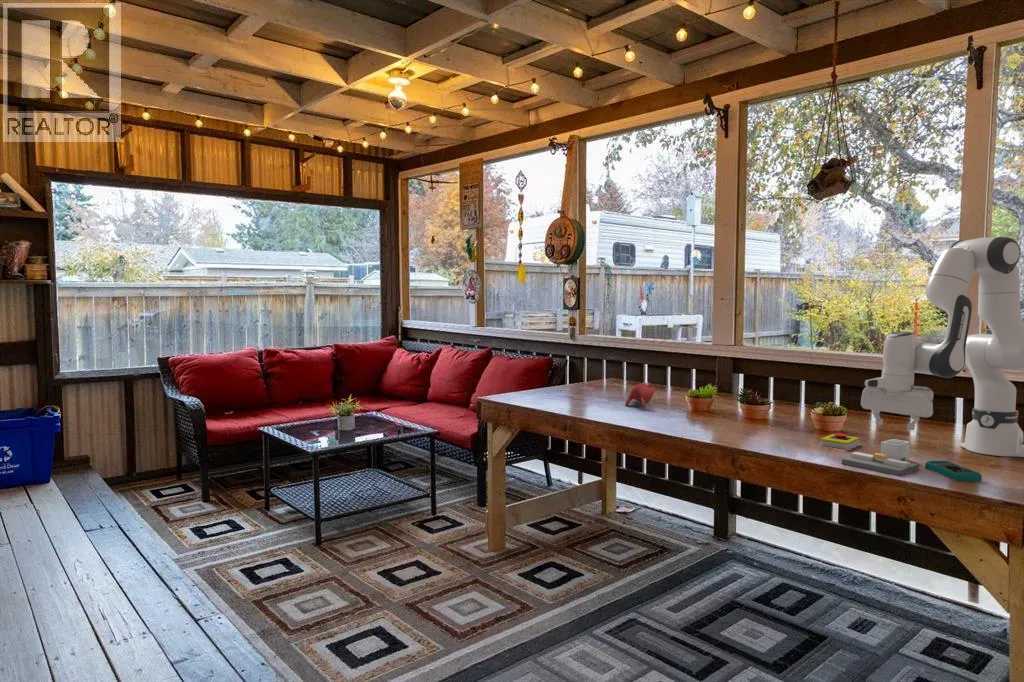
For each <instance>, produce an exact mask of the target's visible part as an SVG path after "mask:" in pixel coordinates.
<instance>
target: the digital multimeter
mask: <svg viewBox="0 0 1024 682" xmlns="http://www.w3.org/2000/svg"><path fill="white" fill-rule="evenodd" d="M924 468H925V469H926V470H928V469H929V470H928V471H932V472H933V471H934V472H933V473H936V472H937V474H938V473H939V475H941V474H942V475H941V476H943V475H944V477H946V476H947V477H946V478H948V477H949V479H950V478H951V480H952V479H954V480H953V481H955V480H956V481H955V482H960V481H977V482H982V476H983V475H982V474H981V473H980V472H978V471H975V470H972V469H970V468H967V467H964V466H962V465H960V464H956V463H954V462H952V461H949V460H928V461H925V464H924Z"/></svg>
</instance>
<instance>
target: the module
mask: <svg viewBox="0 0 1024 682" xmlns="http://www.w3.org/2000/svg"><path fill="white" fill-rule="evenodd" d="M910 443H911V441H908V440H904V439H903V440H901V439H895V438H892V439H888V440H883V441H881V442H880V454H886V455H887V458H891V459H896V460H901V461H902V460H905V461H906V462H908V461H910ZM907 460H908V461H907Z"/></svg>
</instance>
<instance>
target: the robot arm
mask: <svg viewBox="0 0 1024 682" xmlns="http://www.w3.org/2000/svg"><path fill="white" fill-rule="evenodd" d="M1021 252H1022V251H1021V246H1020V245H1019V244H1018V242H1017V241H1016V240H1015V239H1014V238H1011V237H1008V236H1007V237H1006V236H997V237H993V236H991V237H990V236H989V237H985V236H984V237H977V238H973V239H971V238H970V239H966V240H957V241H954V242H951V243H949V245H947V246H946V248H945V249H944V251H942V253H941V254H940V255H939V257H938V259H937V261H935V264H934V266H933V268H932V269H931V272H930V275H929V277H928V280H927V282H926V286H925V296H926V297H925V298H926V299H927V300H928V301H929V302H930V304H932V305H933V306H934V307H936V308H938V309H940V310H941V311H944V312H946V314H947V318H948V320H947V325H946V329H945V330H946V331H945V336H944V340H943V341H942V342H941V343H930V342H924V341H923V340H920V339H919V338H917V337H916V336H915V334H914V333H913V332H911V331H895V332H891V333H889V334H887V335H886V337H885V340H884V343H883V347H882V348H883V350H882V362H883V367H882V371H881V377H880V376H879V377H875V378H870V379H866V380H865V381H864V386H865V387H864V388H863V390H862V391H861V392H862V393H861V398H860V406H861V407H862V409H865V410H871V412H872V416H873V417H874V419H875V425H876V426H877V425H878V426H883V424H884V419H883V418H881V417H880V415H879V414H880V413H881V412H884V413H885V412H886V413H891V414H899V415H903V416H911V420H912V421H911V422H910V423H907V424H906V425H907V427H906V430H908V431H914V430H915V428H916V427H915V426H916V424H917V423H918V422H919V420H920V418H925V419H926V418H929V417H932V416H933V414H934V407H933V406H934V404H933V401H934V394H935V393H934V391H933V390H932V389H931V388H929V387H927V386H921V385H914V384H915V373H917V374H918V373H919V374H925V375H932V376H936V377H940V378H945V379H951V378H954V377H956V376H957V375H958V374H960V373H961V372H962V371H963V370H964V367H965V366H966V367H967V368H968V370H969V372H970V374H971V377H972V380H973V387H974V407H973V408H972V412H971V414H972V415H971V418H972V420H971V421H969V422H968V423H967V424H966V431H965V439H964V442H960V444H959V447H961V448H964V449H966V450H967V451H970V452H973V453H978V454H982V455H989V456H997V457H998V456H999V457H1020V458H1024V431H1023V430H1022V428H1021V427H1020V425H1019V423H1018V421H1019V420H1018V418H1019V414H1020V413H1019V410H1016V406H1017V404H1016V403H1017V388H1016V385H1015V384H1013V382H1011V381H1010V380H1009V379H1008V378H1007V377H1006V376H1005V374H1004V371H1003V370H1012V371H1022V370H1024V323H1023V320H1022V315H1021V282H1020V281H1021V280H1020V274H1019V269H1018V265H1017V264H1018V263H1019V261H1020V259H1021ZM975 273H976V274H979V280H978V288H977V289H978V290H977V291H978V292H977V293H978V295H977V296H978V298H977V300H978V301H977V315H978V317H979V319H980V320H981V321H983V322H984V323H985V324H987V326H988V327H989V328H990V331H991V333H990V334H989V333H974V334H969V329H970V325H971V319H972V311H973V304H972V301H971V299H970V298H969V297H968V290H969V286H970V285H971V282H972V281H971V280H972V277H973V274H975Z"/></svg>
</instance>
